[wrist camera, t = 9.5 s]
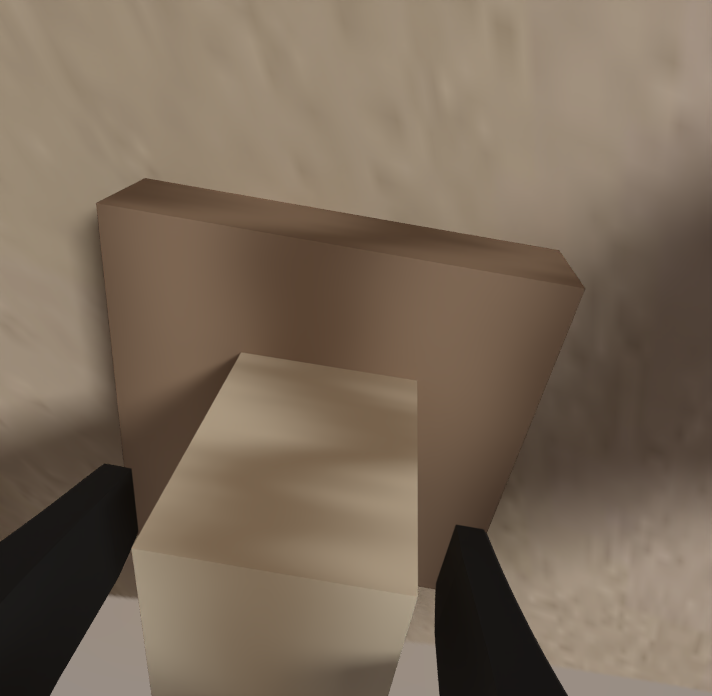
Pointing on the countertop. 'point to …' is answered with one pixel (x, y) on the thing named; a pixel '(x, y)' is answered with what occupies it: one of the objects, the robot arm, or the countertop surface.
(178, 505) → the beech block
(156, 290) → the walnut block
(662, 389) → the countertop surface
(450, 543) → the robot arm
